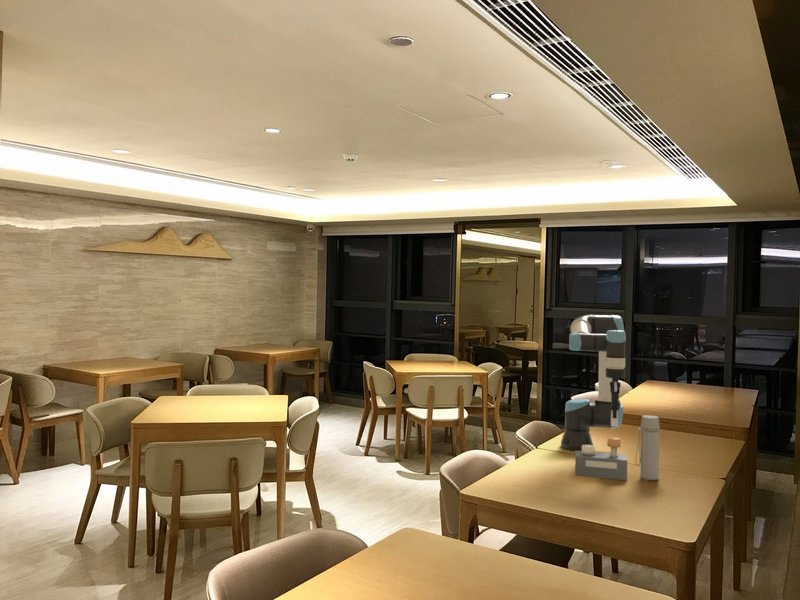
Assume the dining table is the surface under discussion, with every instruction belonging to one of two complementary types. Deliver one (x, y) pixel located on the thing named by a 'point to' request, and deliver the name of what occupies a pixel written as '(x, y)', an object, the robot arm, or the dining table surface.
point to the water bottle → (649, 447)
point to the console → (601, 466)
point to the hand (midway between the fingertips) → (614, 425)
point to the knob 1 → (588, 449)
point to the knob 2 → (613, 445)
